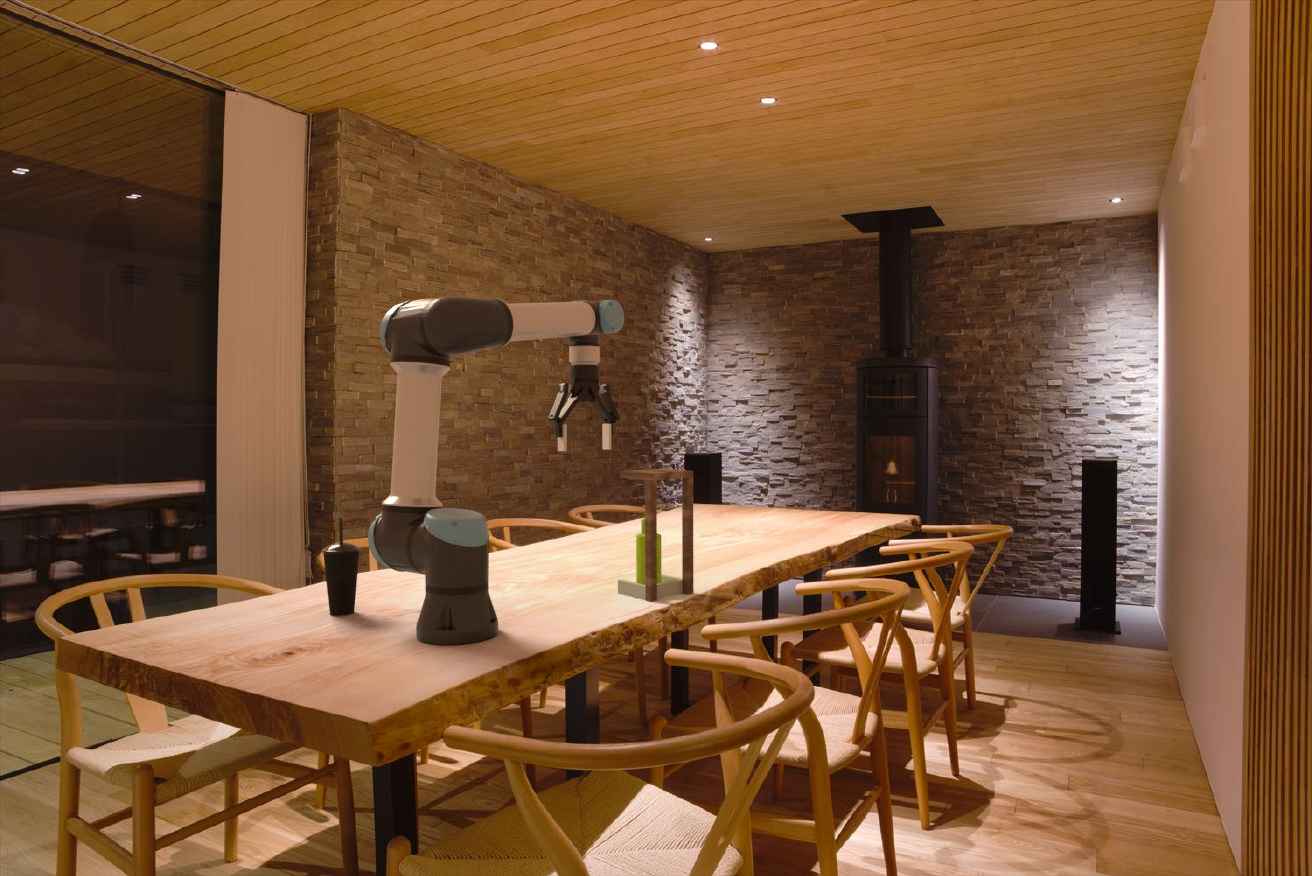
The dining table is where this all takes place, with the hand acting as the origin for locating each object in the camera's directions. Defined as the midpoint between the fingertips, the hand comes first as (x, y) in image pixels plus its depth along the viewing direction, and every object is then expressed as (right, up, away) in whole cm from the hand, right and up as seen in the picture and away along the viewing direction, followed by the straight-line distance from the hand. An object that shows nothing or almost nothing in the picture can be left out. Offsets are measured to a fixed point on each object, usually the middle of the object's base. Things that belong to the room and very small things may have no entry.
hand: (585, 450), depth 209 cm
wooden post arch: (+18, -33, -14) cm, 40 cm away
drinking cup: (-48, -34, -32) cm, 67 cm away
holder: (+16, -33, -12) cm, 39 cm away
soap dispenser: (+16, -33, -12) cm, 39 cm away
